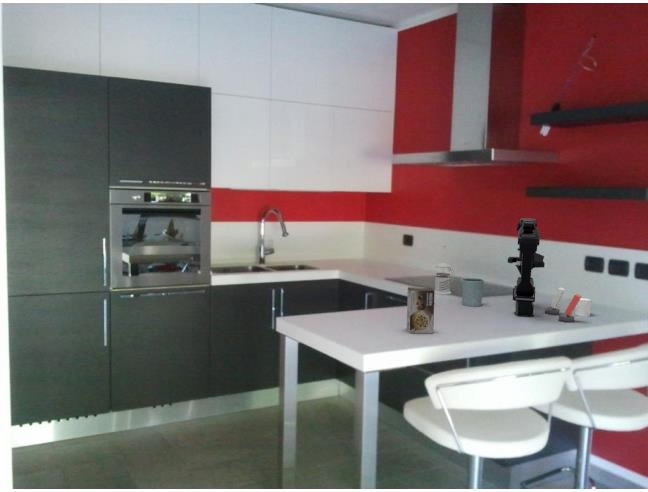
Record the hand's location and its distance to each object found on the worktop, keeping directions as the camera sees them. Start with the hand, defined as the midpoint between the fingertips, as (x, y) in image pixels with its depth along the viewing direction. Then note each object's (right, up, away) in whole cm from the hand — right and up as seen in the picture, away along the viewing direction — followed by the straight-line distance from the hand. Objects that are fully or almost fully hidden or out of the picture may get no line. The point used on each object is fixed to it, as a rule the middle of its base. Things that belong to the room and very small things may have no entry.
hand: (524, 281), depth 269 cm
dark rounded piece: (+10, -15, -21) cm, 28 cm away
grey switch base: (+10, -14, -7) cm, 18 cm away
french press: (-27, -9, +44) cm, 53 cm away
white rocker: (+10, -12, -7) cm, 17 cm away
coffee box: (-54, -16, -46) cm, 73 cm away
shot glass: (+23, -15, -7) cm, 28 cm away
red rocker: (+10, -13, -21) cm, 27 cm away
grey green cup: (-21, -12, +10) cm, 26 cm away
